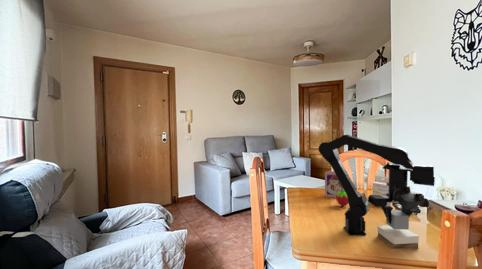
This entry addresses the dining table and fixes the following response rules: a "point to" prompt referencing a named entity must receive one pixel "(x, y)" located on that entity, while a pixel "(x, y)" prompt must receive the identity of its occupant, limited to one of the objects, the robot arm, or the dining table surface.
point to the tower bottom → (399, 246)
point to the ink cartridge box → (380, 186)
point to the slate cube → (399, 220)
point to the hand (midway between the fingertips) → (397, 223)
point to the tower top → (398, 235)
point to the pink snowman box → (332, 184)
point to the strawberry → (342, 198)
